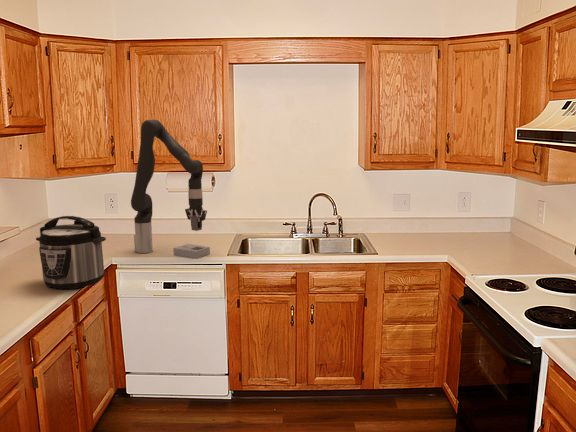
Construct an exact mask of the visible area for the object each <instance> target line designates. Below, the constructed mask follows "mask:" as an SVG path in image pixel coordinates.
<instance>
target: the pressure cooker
mask: <svg viewBox="0 0 576 432" xmlns="http://www.w3.org/2000/svg"><path fill="white" fill-rule="evenodd" d="M65 219H67V220H72V221H73V224H72V223H71V224H59V225H58V222H59V221H60V220H65ZM106 239H107V238H106V237H105V236H102V233H101V231H100V227H99V226H98V225H95V223H94V222H92V221H91V220H89V219H87V218H83V217H80V216H75V215H62V216H58V217H54V218H52V219H50V220H48V221H47V222H46V223H44V225H43V226H41V227H39V236H37V237H36V238H35V240H36V241H38V242H39V256H40V262H41V271H42V279H43V282H44V284H45V285H46V286H47V287H49V288H51V287H53V288H52V289H56V288H62V289H61V290H64V289H63V288H69V289H79V288H86V287H88V286H92V285H95V284H98V283H99V282H100V281H101V280H102V279H103V278H104V275H105V266H104V254H103V253H104V252H103V243H102V242H104V241H106ZM69 289H68V290H69Z"/></svg>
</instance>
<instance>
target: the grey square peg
mask: <svg viewBox="0 0 576 432" xmlns="http://www.w3.org/2000/svg"><path fill="white" fill-rule="evenodd" d="M190 226H191V231H196V232H198V231H201V230H203V228H202V227H203V226H202V227H201V228H198V218H197V216H196V215H193V216H191V221H190Z"/></svg>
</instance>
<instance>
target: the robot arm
mask: <svg viewBox="0 0 576 432" xmlns="http://www.w3.org/2000/svg"><path fill="white" fill-rule="evenodd" d="M155 138H156V139H159V140H160V141H161V142H162V143H163V144H164V145H165V147H166V149H167V150H168V152H169V153H170V155H171V156H173V157H174V158H175V160H176V161H178V162H179V164H181V166H182V168H183V169H184V170H185V171H186V172H188V174H190V178H189V179H188V183H187V184H188V185H187V186H188V193H187V195H188V196H187V198H188V206H189V207H188V208H185V209H184V211H185V215H186V218H187V219H188V220H189V221H190V222H191V216H193V215H196V216H197V218H198V228H201V227H203V221H206V218H207V214H208V211H207V210H206V209H204V208H203V203H204V202H203V189H202V178H203V174H204V173H203V171H204V166H203V162H201V161H200V159H199V160H198V159H194V160H193V159H192V158H191V157H190V153H189V152H188V151H187V150H186V149H185V148H184V147H183V146H182V145H181V144H180V143H179V142H178V141H177V140H176V139H175V138H174V137H173V136H172V135H171V133H170V132H169V131H168V129H166V127H165V126H164V125H163V124H162V122H160V120H157V119H146V120H144V121H143V122H142V124H141V126H140V146H139V152H138V160H137V166H136V167H137V168H136V173H135V181H134V186H133V190H132V195H131V199H130V206H131V209H132V210H133V211H135V212H137V213H136V215H135V216H134V219H133V220H134V234H133V242H134V243H133V245H134V252H136V253H137V254H149V253H152V252H153V250H154V249H153V230H152V229H153V226H152V218H153V200H152V197H151V195H150V194H148V193H147V188H148V186H149V184H150V182H151V180H152V177H153V175H154V173H155V166H156V158H155V153H154V140H155Z"/></svg>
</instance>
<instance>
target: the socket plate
mask: <svg viewBox="0 0 576 432" xmlns="http://www.w3.org/2000/svg"><path fill="white" fill-rule="evenodd" d="M210 254H211V247H210V246H205V245H199V244H191V243H185V244H182V245H180V246H176V247H173V256H175V257H176V256H177V257H185V258H188V259H196V260H197V259H200V258H203V257H205V256H208V255H210Z"/></svg>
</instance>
